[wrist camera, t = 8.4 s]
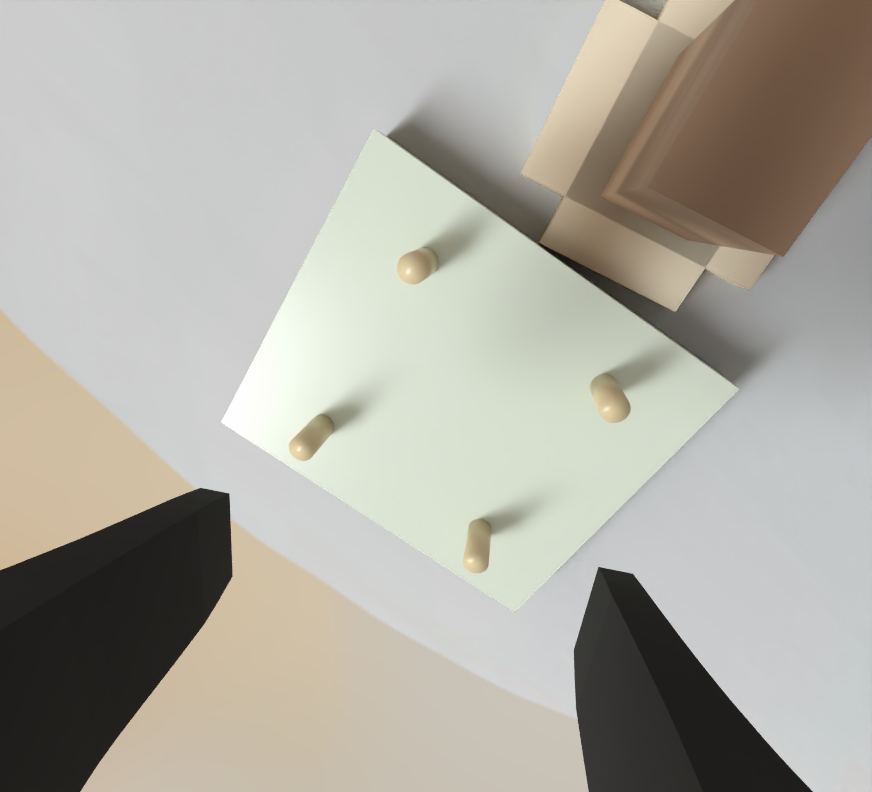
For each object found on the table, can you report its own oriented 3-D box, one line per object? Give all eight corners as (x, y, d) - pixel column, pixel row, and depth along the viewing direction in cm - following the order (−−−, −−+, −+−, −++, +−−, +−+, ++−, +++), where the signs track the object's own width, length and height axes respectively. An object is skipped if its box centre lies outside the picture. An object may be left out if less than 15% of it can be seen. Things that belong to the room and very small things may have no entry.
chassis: (721, 374, 17) (768, 412, 14) (514, 586, 22) (514, 652, 18) (385, 135, 16) (352, 116, 13) (241, 408, 21) (189, 444, 18)
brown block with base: (884, 77, 14) (1200, -38, 8) (706, 326, 17) (823, 397, 11) (632, -54, 14) (732, -288, 7) (498, 220, 17) (485, 226, 10)
